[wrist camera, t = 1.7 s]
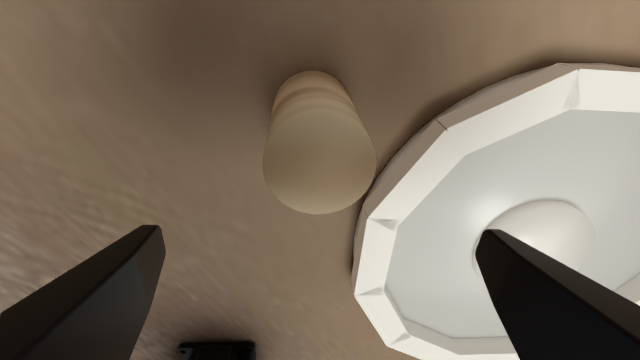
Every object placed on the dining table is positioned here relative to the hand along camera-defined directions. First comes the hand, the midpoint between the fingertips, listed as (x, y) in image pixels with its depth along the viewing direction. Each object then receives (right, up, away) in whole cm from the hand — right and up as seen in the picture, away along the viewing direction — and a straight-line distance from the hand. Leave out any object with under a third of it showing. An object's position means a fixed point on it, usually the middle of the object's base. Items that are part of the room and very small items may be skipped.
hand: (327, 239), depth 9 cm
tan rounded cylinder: (-1, +6, +10) cm, 11 cm away
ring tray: (+15, -3, +15) cm, 21 cm away
